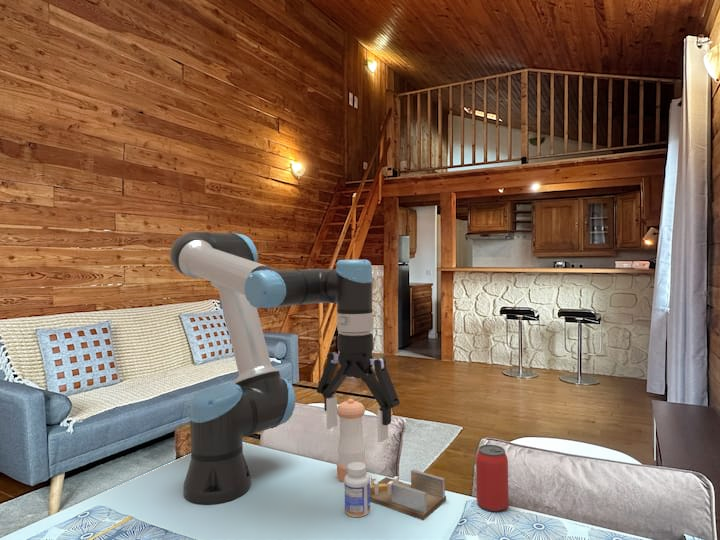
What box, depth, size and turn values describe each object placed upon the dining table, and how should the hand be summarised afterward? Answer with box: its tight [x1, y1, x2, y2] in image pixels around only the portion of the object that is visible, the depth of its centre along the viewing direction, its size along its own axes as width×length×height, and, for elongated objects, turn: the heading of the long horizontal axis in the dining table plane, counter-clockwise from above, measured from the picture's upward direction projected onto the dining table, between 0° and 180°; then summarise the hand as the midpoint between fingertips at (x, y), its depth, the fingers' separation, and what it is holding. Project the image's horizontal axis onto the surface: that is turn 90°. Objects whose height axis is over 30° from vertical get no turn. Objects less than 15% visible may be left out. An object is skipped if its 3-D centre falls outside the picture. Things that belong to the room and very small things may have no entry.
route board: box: [370, 476, 447, 521], centre depth 106 cm, size 16×10×1 cm, turn 53°
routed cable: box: [370, 475, 400, 495], centre depth 108 cm, size 8×7×2 cm
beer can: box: [475, 444, 510, 512], centre depth 102 cm, size 7×7×12 cm
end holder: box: [391, 469, 446, 514], centre depth 103 cm, size 8×9×4 cm
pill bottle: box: [343, 462, 371, 518], centre depth 101 cm, size 5×5×10 cm
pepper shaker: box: [336, 398, 368, 483], centre depth 117 cm, size 7×7×19 cm
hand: (356, 433), depth 101 cm, fingers open, 13 cm apart
